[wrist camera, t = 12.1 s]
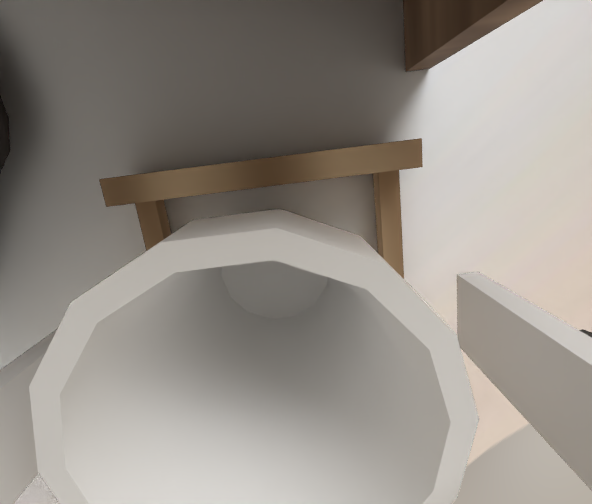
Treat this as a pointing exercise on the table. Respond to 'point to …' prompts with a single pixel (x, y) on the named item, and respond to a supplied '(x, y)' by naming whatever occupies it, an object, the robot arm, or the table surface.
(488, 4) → the cubby cabinet
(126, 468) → the foam cup
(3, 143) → the casserole
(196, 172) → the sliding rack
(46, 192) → the table surface
